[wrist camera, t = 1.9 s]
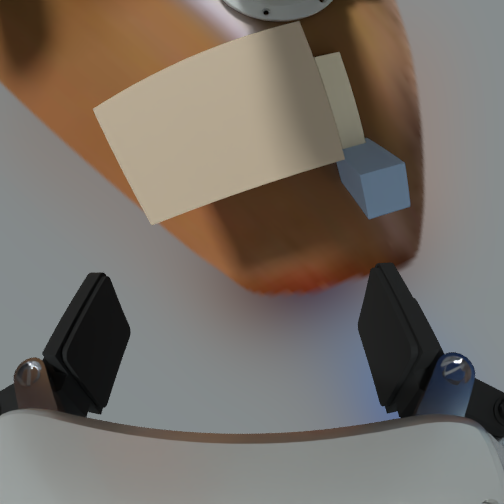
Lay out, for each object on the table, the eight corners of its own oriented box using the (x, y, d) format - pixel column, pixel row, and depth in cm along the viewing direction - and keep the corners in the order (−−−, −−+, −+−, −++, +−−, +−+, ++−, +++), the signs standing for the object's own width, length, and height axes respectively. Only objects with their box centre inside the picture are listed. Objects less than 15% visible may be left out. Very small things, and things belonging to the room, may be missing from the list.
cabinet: (277, 46, 24) (299, 20, 12) (305, 121, 28) (345, 159, 16) (160, 91, 26) (92, 109, 14) (191, 161, 30) (151, 225, 18)
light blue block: (341, 51, 24) (376, 44, 16) (374, 172, 31) (410, 206, 23) (303, 60, 24) (324, 54, 17) (341, 181, 31) (368, 219, 24)
